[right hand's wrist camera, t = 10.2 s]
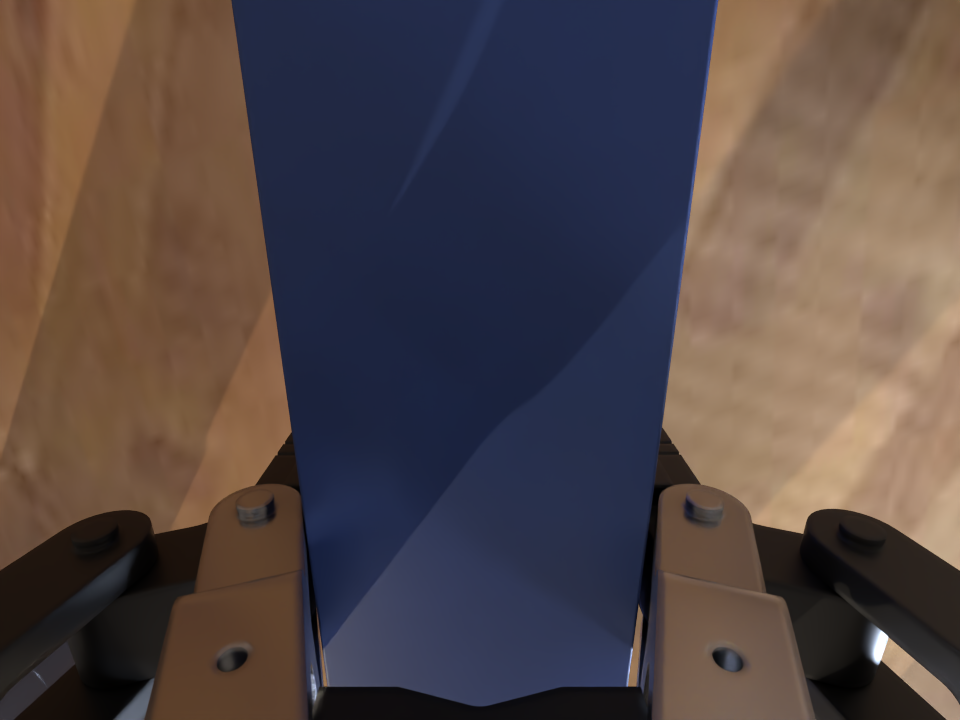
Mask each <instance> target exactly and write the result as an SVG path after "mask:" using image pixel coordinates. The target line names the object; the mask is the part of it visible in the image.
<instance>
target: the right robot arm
mask: <svg viewBox="0 0 960 720" xmlns="http://www.w3.org/2000/svg"><path fill="white" fill-rule="evenodd" d="M639 606H640V608H641V611H642V614H643V616H642V623H641V633H640V646H639V659H638V673H637V686H636V687H559V688H555V689H551V690H547V691H543V692H539V693H535V694H531V695H527V696H524V697H520V698H516V699H512V700H508V701H504V702H500V703H496V704H492V705H488V706H472V705H468V704H464V703H460V702H456V701H452V700H448V699H444V698H440V697H436V696H433V695H429V694H425V693H421V692H417V691H413V690H409V689H405V688H401V687H324V686H323V672H322V659H321V646H320V633H319V623H318V616H317V609H316V600H315V593H314V586H313V579H312V572H311V565H310V557H309V550H308V543H307V536H306V529H305V522H304V515H303V507H302V500H301V493H300V486H299V479H298V472H297V465H296V457H295V450H294V443H293V436H292V433H291V434H290V435H289V437H288V438H287V440H286V441H285V444H283V446H282V447H281V449H280V450H279V451H278V455H276V456H275V457H274V459H273V460H272V462H271V463H270V465H269V466H268V468H267V469H266V470H265V472H264V473H263V475H262V476H261V478H260V479H259V481H258V482H257V484H256V485H255V486H251V487H248V488H244V489H241V490H239V491H236V492H234V493H232V494H230V495H229V496H227V497H225V498H224V499H222V500H221V501H220V502H219V503H218V504H217V505H216V506H215V507H214V508H213V510H212V511H211V513H210V516H209V520H208V523H205V524H202V525H198V526H194V527H189V528H184V529H179V530H174V531H169V532H164V533H159V534H154V531H153V527H152V524H151V521H150V518H149V517H148V516H147V515H145V514H143V513H141V512H138V511H131V510H121V511H112V512H107V513H103V514H99V515H95V516H92V517H89V518H86V519H84V520H81V521H79V522H77V523H75V524H73V525H71V526H69V527H67V528H65V529H64V530H62V531H60V532H59V533H57V534H56V535H54V536H53V537H51V538H50V539H48V540H47V541H45V542H44V543H42V544H41V545H39V546H37V547H36V548H34V549H33V550H31V551H30V552H28V553H27V554H25V555H24V556H22V557H21V558H19V559H18V560H16V561H14V562H13V563H11V564H10V565H8V566H7V567H5V568H4V569H2V570H1V571H0V720H946V719H945V718H944V717H943V716H942V715H941V714H940V713H938V712H937V711H936V710H935V709H934V708H933V707H932V706H931V705H930V704H928V703H927V702H926V701H925V700H924V699H923V698H922V697H921V696H920V695H919V694H917V693H916V692H915V691H914V690H913V689H912V688H911V687H910V686H909V685H908V684H906V683H905V682H904V681H903V680H902V679H901V678H900V677H899V676H898V675H897V674H895V673H894V672H893V671H892V670H891V669H890V668H889V667H888V666H887V665H885V664H884V663H883V662H882V661H881V657H882V654H883V652H884V649H885V646H886V643H887V640H888V638H890V639H892V640H893V641H894V642H895V643H896V644H897V645H899V646H900V647H901V648H902V649H903V650H904V651H906V652H907V653H908V654H909V655H910V656H912V657H913V658H914V659H915V660H916V661H917V662H919V663H920V664H921V665H922V666H923V667H924V668H926V669H927V670H928V671H929V672H930V673H931V674H933V675H934V676H935V677H936V678H937V679H938V680H940V681H941V682H942V683H943V684H944V685H945V686H946V687H947V688H948V689H949V690H950V691H951V692H952V694H953V695H954V696H955V698H956V699H957V701H958V702H959V704H960V571H959V570H958V569H956V568H955V567H953V566H952V565H950V564H949V563H947V562H946V561H944V560H942V559H941V558H939V557H938V556H936V555H935V554H933V553H932V552H930V551H929V550H927V549H926V548H924V547H923V546H921V545H919V544H918V543H916V542H915V541H913V540H912V539H910V538H909V537H907V536H906V535H904V534H903V533H901V532H900V531H898V530H896V529H895V528H893V527H891V526H890V525H888V524H886V523H884V522H882V521H880V520H877V519H875V518H873V517H870V516H867V515H864V514H861V513H857V512H853V511H848V510H841V509H824V510H819V511H816V512H814V513H812V514H811V515H810V516H809V517H808V519H807V522H806V526H805V530H804V534H801V533H796V532H791V531H785V530H780V529H775V528H770V527H765V526H761V525H757V524H753V523H752V520H751V516H750V513H749V511H748V510H747V508H746V507H745V506H744V505H743V504H742V503H741V502H740V501H739V500H738V499H736V498H735V497H733V496H731V495H730V494H728V493H726V492H724V491H721V490H719V489H716V488H712V487H709V486H704V485H701V484H700V483H699V481H698V480H697V478H696V477H695V475H694V474H693V472H692V471H691V469H690V468H689V466H688V465H687V463H686V462H685V460H684V459H683V457H682V456H681V455H679V452H678V450H677V449H676V447H675V446H674V444H672V441H671V440H670V438H669V437H668V435H667V434H666V432H665V431H664V429H663V428H662V430H661V438H660V445H659V453H658V460H657V468H656V476H655V483H654V491H653V498H652V506H651V513H650V521H649V529H648V536H647V544H646V551H645V559H644V567H643V574H642V582H641V589H640V597H639Z"/></svg>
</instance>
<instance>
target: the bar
mask: <svg viewBox="0 0 960 720" xmlns="http://www.w3.org/2000/svg"><path fill="white" fill-rule="evenodd" d="M231 1H232V8H233V15H234V22H235V29H236V36H237V43H238V51H239V58H240V65H241V72H242V79H243V86H244V93H245V100H246V108H247V115H248V122H249V129H250V136H251V143H252V150H253V158H254V165H255V172H256V179H257V186H258V193H259V200H260V208H261V215H262V222H263V229H264V236H265V243H266V250H267V258H268V265H269V272H270V279H271V286H272V293H273V300H274V308H275V315H276V322H277V329H278V336H279V343H280V350H281V357H282V365H283V372H284V379H285V386H286V393H287V400H288V407H289V415H290V422H291V429H292V436H293V443H294V450H295V457H296V465H297V472H298V479H299V486H300V493H301V500H302V507H303V515H304V522H305V529H306V536H307V543H308V550H309V557H310V565H311V572H312V579H313V586H314V593H315V600H316V607H317V614H318V622H319V629H320V636H321V643H322V650H323V657H324V664H325V672H326V679H327V686H328V687H401V688H405V689H409V690H413V691H417V692H421V693H425V694H429V695H433V696H436V697H440V698H444V699H448V700H452V701H456V702H460V703H464V704H468V705H472V706H488V705H492V704H496V703H500V702H504V701H508V700H512V699H516V698H520V697H524V696H527V695H531V694H535V693H539V692H543V691H547V690H551V689H555V688H559V687H628V680H629V673H630V665H631V658H632V650H633V642H634V635H635V627H636V620H637V612H638V604H639V597H640V589H641V582H642V574H643V567H644V559H645V551H646V544H647V536H648V529H649V521H650V513H651V506H652V498H653V491H654V483H655V476H656V468H657V460H658V453H659V445H660V438H661V430H662V422H663V415H664V407H665V400H666V392H667V385H668V377H669V369H670V362H671V354H672V347H673V339H674V331H675V324H676V316H677V309H678V301H679V294H680V286H681V278H682V271H683V263H684V256H685V248H686V240H687V233H688V225H689V218H690V210H691V203H692V195H693V187H694V180H695V172H696V165H697V157H698V149H699V142H700V134H701V127H702V119H703V112H704V104H705V96H706V89H707V81H708V74H709V66H710V58H711V51H712V43H713V36H714V28H715V21H716V13H717V5H718V0H231Z"/></svg>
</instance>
